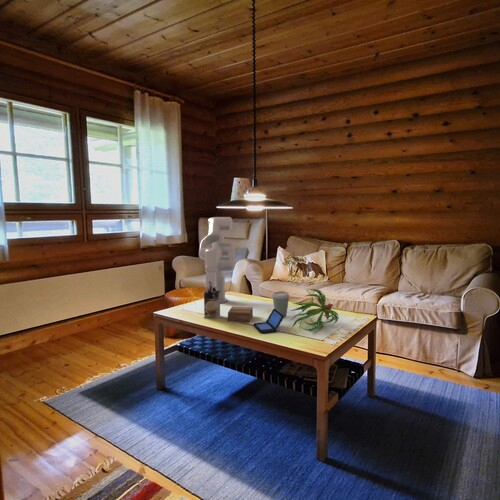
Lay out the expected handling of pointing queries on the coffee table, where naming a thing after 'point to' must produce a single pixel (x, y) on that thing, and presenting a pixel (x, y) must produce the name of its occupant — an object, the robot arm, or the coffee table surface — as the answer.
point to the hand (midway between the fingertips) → (211, 296)
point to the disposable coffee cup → (281, 302)
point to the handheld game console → (270, 323)
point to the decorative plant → (316, 311)
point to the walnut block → (240, 314)
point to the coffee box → (212, 305)
